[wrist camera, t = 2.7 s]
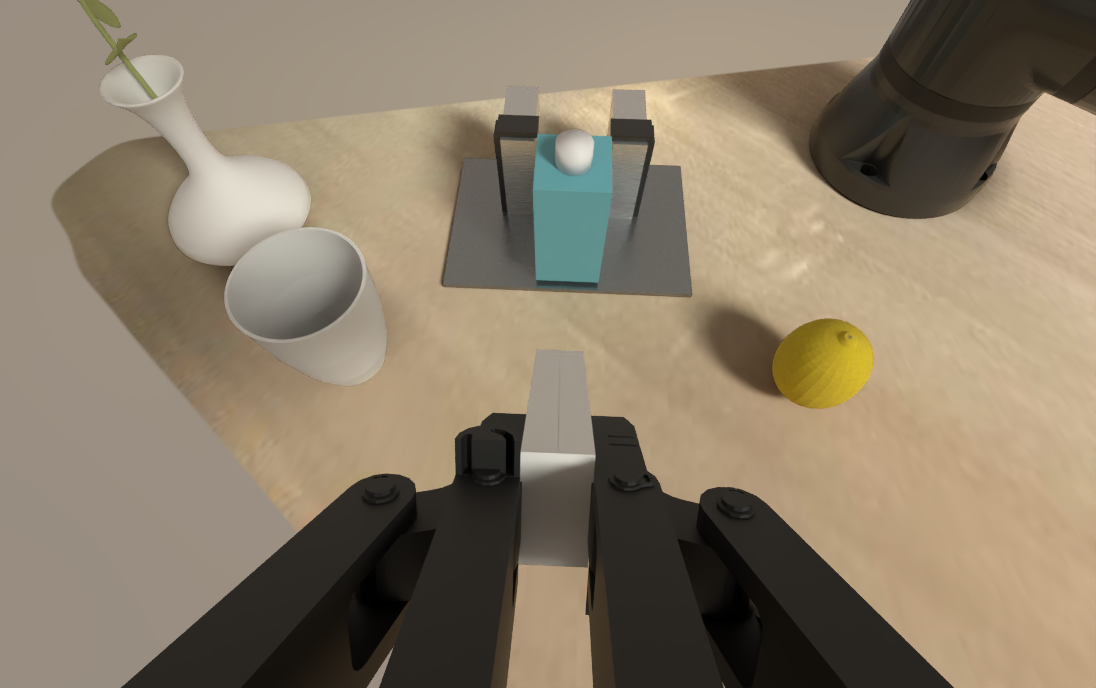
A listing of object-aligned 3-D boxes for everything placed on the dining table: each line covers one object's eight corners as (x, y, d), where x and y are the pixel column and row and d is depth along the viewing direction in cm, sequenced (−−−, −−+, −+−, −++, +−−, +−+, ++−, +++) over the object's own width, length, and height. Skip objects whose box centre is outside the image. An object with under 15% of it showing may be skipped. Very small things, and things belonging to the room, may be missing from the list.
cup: (313, 307, 41) (248, 224, 32) (414, 311, 41) (377, 229, 32) (285, 403, 38) (204, 340, 29) (396, 408, 37) (349, 345, 28)
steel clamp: (679, 169, 48) (705, 82, 40) (690, 297, 42) (724, 223, 34) (464, 161, 48) (448, 74, 41) (443, 286, 42) (419, 212, 34)
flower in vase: (331, 250, 44) (107, -120, 22) (190, 296, 42) (-218, -62, 19) (300, 149, 49) (97, -231, 27) (175, 184, 47) (-158, -195, 25)
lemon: (764, 344, 40) (811, 286, 33) (838, 369, 39) (903, 315, 32) (748, 407, 37) (796, 359, 30) (826, 435, 36) (894, 393, 29)
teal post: (598, 233, 44) (614, 116, 33) (598, 282, 41) (615, 173, 31) (539, 230, 44) (536, 113, 33) (536, 280, 41) (532, 170, 31)
